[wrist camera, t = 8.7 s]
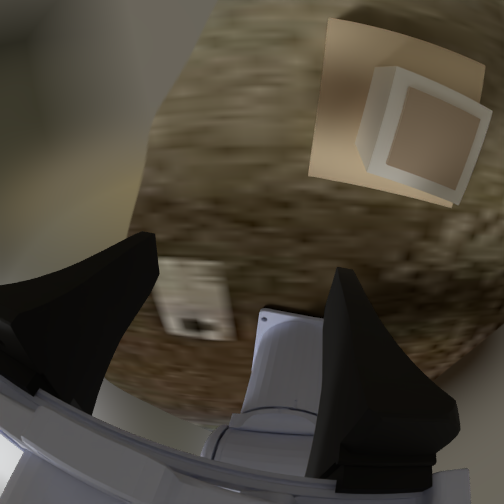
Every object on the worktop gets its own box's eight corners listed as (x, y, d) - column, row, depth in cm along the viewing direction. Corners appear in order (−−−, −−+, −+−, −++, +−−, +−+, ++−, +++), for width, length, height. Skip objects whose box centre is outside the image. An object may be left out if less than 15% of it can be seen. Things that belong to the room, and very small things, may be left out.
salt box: (426, 168, 15) (460, 207, 11) (355, 143, 15) (367, 174, 11) (449, 96, 13) (495, 112, 8) (374, 66, 13) (398, 66, 9)
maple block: (436, 189, 18) (451, 207, 16) (309, 160, 20) (307, 175, 17) (464, 64, 13) (485, 65, 11) (327, 25, 14) (328, 17, 12)
